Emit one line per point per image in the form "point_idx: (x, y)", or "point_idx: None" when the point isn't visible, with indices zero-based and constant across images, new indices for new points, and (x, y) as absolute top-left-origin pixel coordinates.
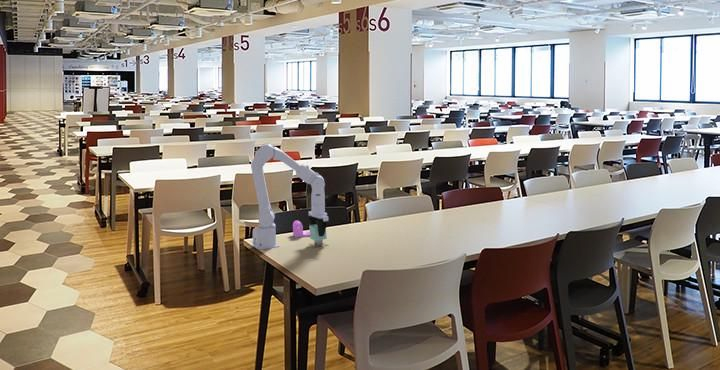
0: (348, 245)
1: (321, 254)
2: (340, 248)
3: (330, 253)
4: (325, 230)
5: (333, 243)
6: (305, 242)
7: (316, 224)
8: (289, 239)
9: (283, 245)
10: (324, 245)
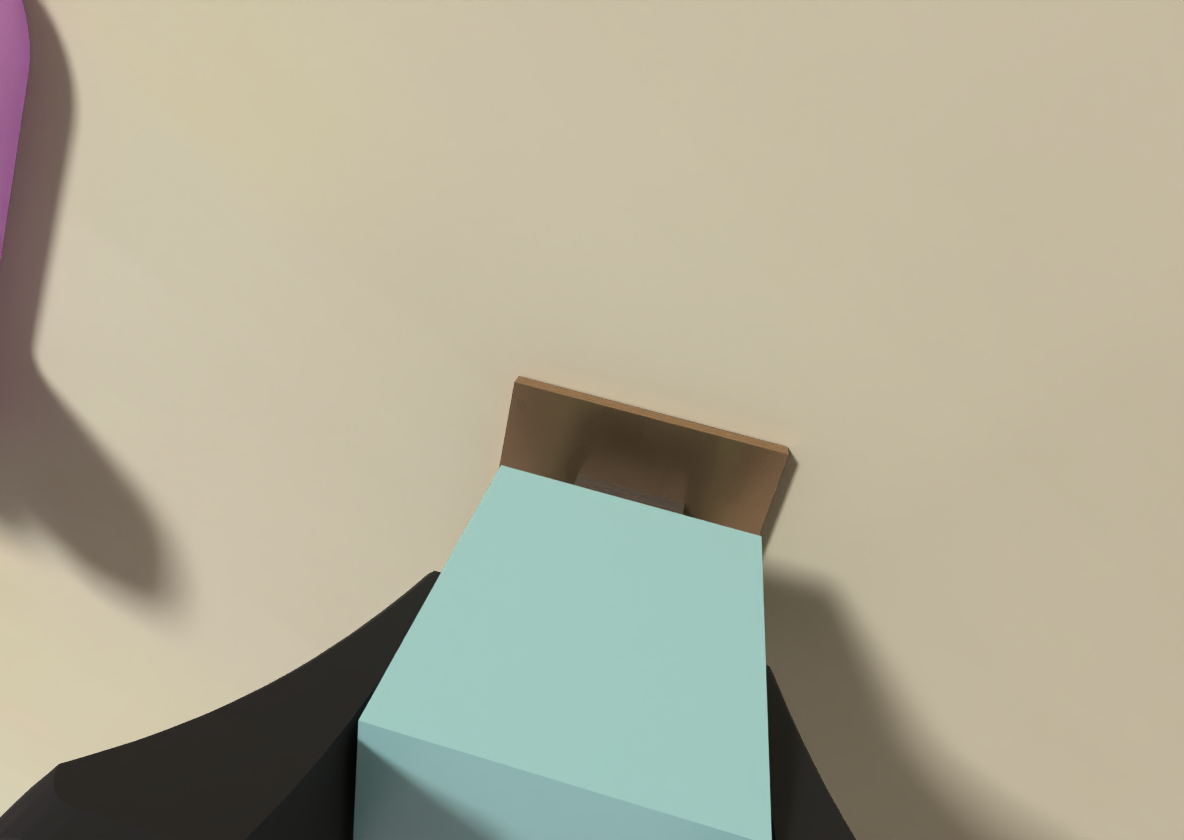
0: (1110, 102)
1: (1055, 830)
2: (1105, 414)
3: (1153, 735)
4: (762, 702)
5: (699, 229)
6: (314, 514)
7: (419, 838)
8: (35, 538)
9: None
10: (741, 510)
